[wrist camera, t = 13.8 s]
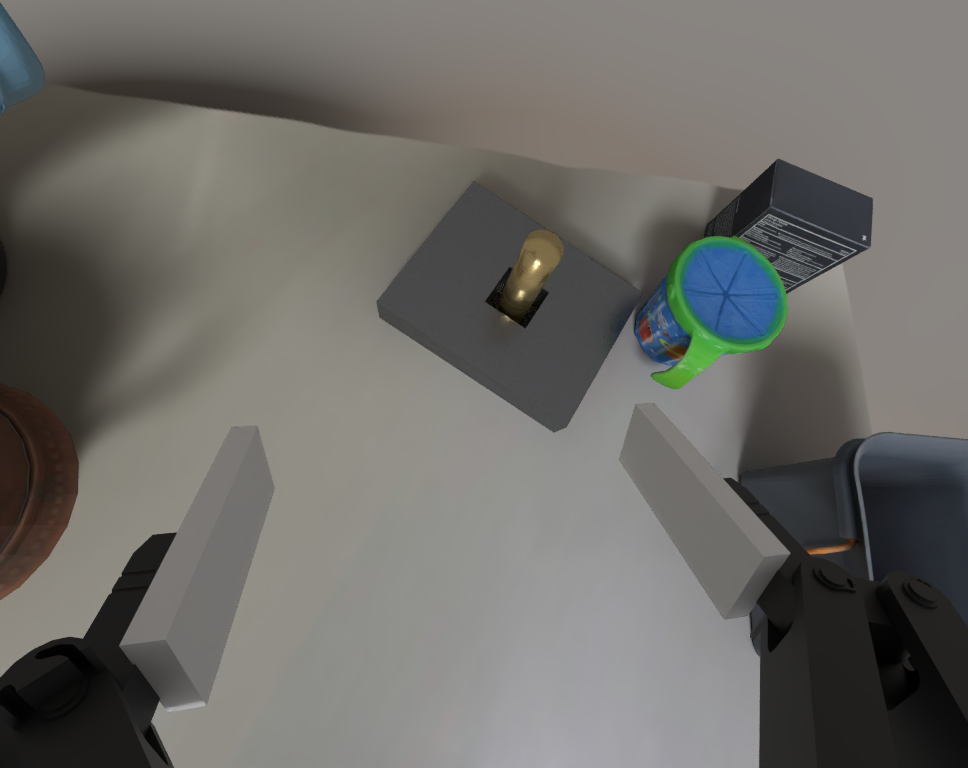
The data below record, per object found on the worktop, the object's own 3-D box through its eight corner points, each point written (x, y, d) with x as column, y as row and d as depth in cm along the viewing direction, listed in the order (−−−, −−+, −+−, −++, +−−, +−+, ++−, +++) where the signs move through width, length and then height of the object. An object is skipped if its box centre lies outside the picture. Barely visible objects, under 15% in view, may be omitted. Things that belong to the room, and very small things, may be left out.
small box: (786, 253, 51) (878, 195, 41) (779, 300, 49) (874, 251, 39) (706, 220, 50) (779, 153, 40) (696, 266, 48) (770, 208, 38)
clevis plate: (379, 317, 41) (376, 301, 37) (469, 204, 45) (473, 181, 42) (553, 432, 41) (566, 427, 37) (626, 307, 45) (643, 292, 42)
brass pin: (489, 315, 43) (517, 250, 31) (504, 293, 44) (537, 222, 32) (514, 331, 43) (551, 273, 31) (529, 309, 44) (570, 244, 32)
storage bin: (860, 688, 40) (1096, 793, 26) (707, 689, 37) (877, 804, 24) (826, 457, 45) (1008, 442, 31) (691, 446, 43) (823, 425, 29)
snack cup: (656, 254, 48) (719, 193, 38) (734, 308, 48) (816, 261, 38) (588, 360, 43) (639, 322, 33) (673, 420, 43) (749, 400, 33)
